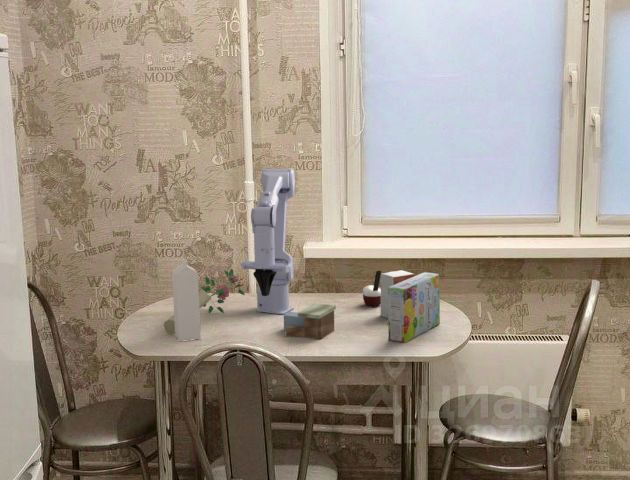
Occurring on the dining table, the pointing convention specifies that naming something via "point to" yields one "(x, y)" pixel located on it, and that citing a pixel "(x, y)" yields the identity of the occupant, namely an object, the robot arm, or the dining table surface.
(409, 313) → the snack box
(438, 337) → the dining table surface
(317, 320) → the awning socket
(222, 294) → the flower vase
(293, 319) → the peg
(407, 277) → the small box
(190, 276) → the milk
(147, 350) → the dining table surface
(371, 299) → the cocoa
